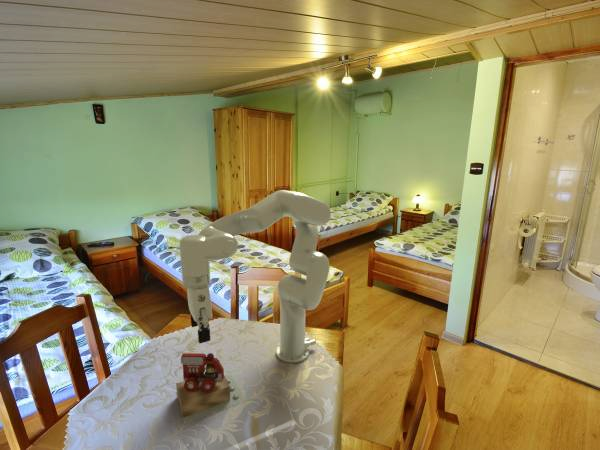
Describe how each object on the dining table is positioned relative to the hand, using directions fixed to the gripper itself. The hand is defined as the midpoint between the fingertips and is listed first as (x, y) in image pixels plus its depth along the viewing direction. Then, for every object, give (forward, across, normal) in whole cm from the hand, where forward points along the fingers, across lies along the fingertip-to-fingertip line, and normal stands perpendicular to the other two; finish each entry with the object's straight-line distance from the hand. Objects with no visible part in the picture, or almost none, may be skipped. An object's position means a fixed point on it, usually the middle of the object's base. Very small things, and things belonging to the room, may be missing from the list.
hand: (200, 333), depth 95 cm
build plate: (+24, 0, -1) cm, 24 cm away
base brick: (+22, 0, +1) cm, 22 cm away
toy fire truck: (+18, 0, 0) cm, 18 cm away
